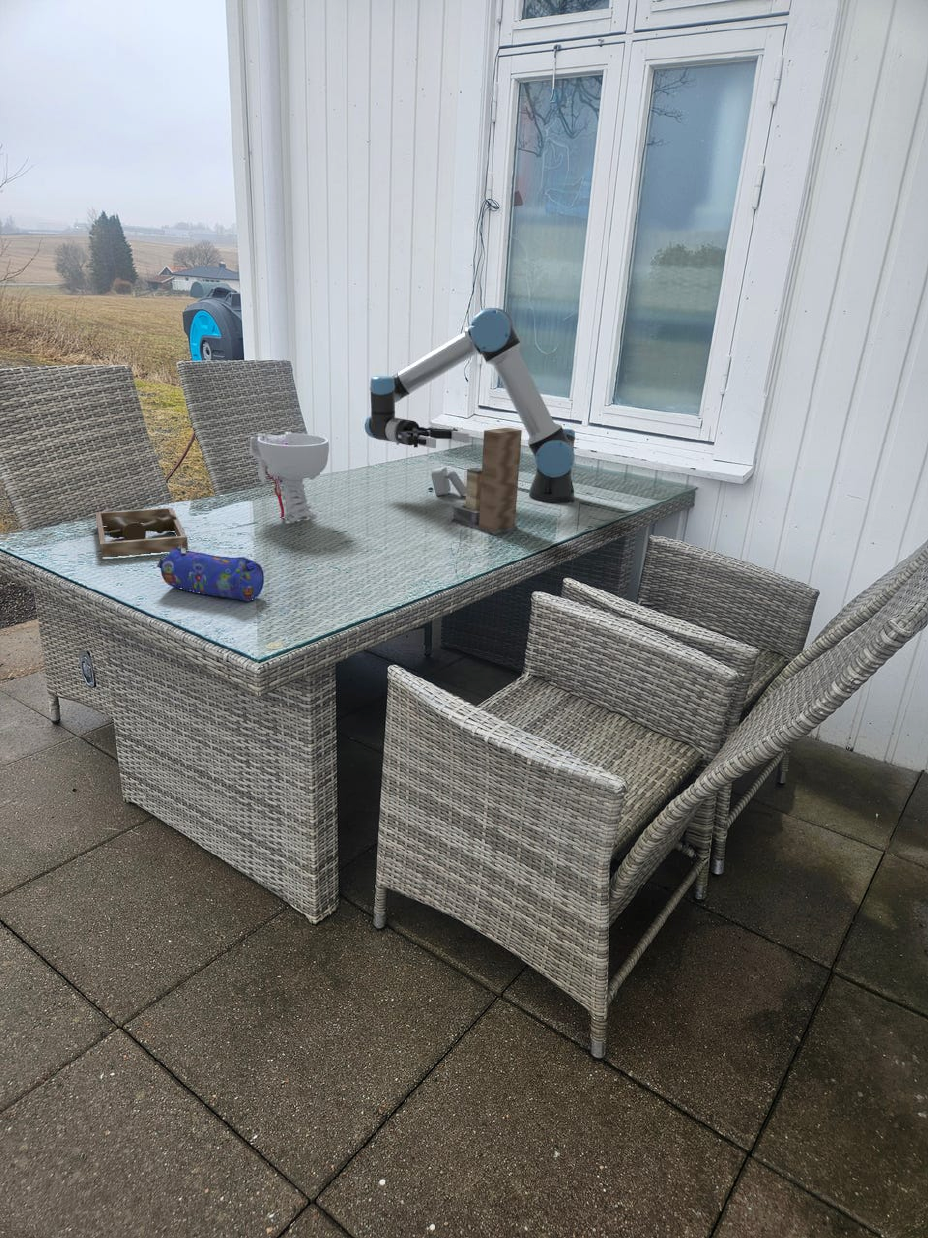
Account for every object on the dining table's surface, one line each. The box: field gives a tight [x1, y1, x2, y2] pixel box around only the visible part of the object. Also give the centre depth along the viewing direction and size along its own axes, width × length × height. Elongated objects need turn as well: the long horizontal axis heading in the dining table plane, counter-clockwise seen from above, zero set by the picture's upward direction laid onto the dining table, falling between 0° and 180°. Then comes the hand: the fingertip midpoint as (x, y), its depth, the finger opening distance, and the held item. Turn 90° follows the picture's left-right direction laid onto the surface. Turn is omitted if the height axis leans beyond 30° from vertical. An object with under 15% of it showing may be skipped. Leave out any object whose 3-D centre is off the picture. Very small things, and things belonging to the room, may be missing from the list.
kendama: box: [104, 514, 178, 541], centre depth 199 cm, size 6×10×20 cm
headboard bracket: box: [451, 427, 523, 536], centre depth 221 cm, size 10×17×28 cm, turn 46°
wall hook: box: [431, 466, 466, 497], centre depth 257 cm, size 8×10×10 cm
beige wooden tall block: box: [464, 467, 482, 511], centre depth 226 cm, size 4×4×15 cm
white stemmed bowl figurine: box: [248, 431, 330, 523], centre depth 220 cm, size 25×19×23 cm
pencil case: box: [156, 546, 265, 602], centre depth 166 cm, size 22×9×10 cm, turn 70°
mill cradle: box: [94, 506, 189, 557], centre depth 199 cm, size 19×29×4 cm, turn 26°
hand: (452, 440), depth 227 cm, fingers open, 13 cm apart
